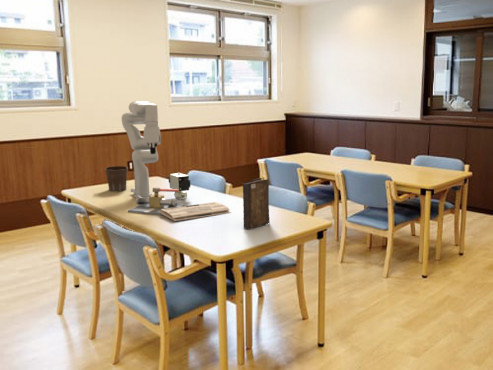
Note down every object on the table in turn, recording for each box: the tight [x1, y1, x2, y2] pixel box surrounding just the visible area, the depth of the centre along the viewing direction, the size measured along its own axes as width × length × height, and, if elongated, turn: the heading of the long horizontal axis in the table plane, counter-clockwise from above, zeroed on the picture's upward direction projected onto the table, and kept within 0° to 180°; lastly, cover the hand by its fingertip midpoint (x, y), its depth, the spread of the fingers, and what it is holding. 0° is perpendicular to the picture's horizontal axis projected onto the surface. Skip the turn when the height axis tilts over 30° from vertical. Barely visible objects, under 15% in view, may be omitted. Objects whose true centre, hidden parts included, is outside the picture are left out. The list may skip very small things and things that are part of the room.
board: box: [127, 203, 186, 216], centre depth 295 cm, size 26×25×1 cm
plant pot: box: [104, 165, 129, 192], centre depth 350 cm, size 16×16×16 cm
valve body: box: [135, 192, 179, 209], centre depth 295 cm, size 25×6×9 cm, turn 71°
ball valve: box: [168, 171, 191, 200], centre depth 321 cm, size 18×8×18 cm, turn 36°
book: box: [242, 177, 270, 230], centre depth 257 cm, size 17×7×25 cm, turn 133°
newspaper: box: [160, 201, 231, 222], centre depth 284 cm, size 37×19×3 cm, turn 124°
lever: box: [152, 187, 179, 193], centre depth 292 cm, size 16×4×2 cm, turn 79°
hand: (153, 153), depth 303 cm, fingers closed
